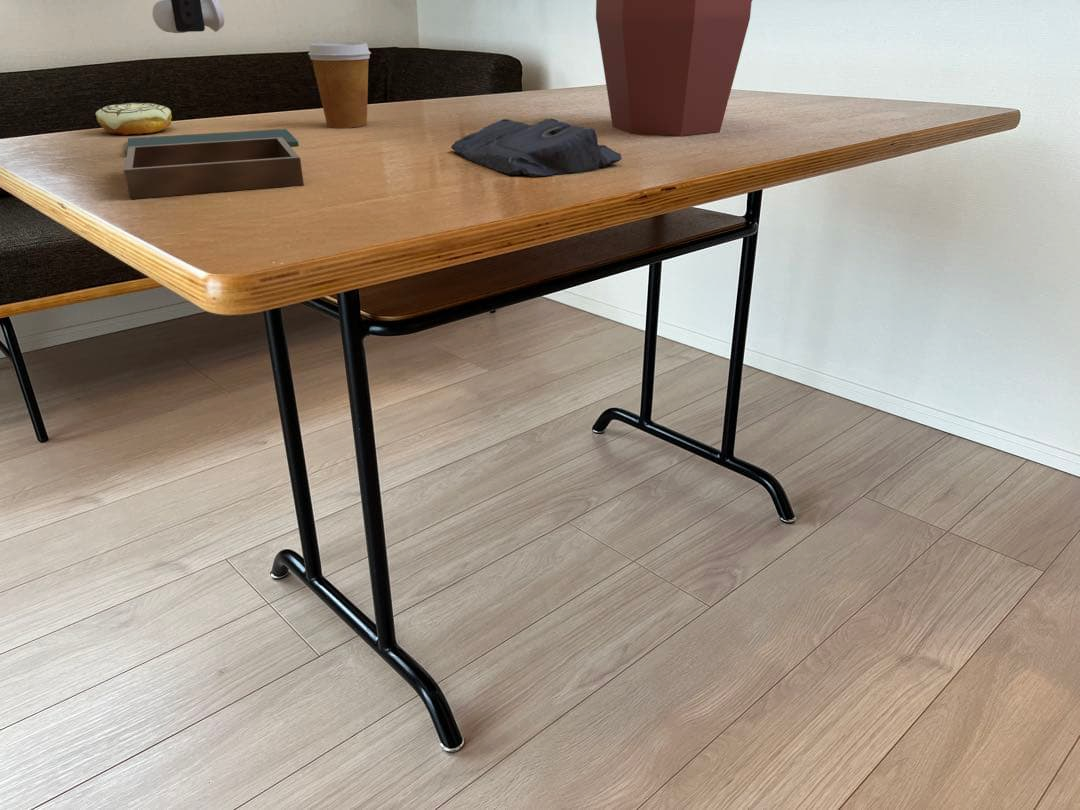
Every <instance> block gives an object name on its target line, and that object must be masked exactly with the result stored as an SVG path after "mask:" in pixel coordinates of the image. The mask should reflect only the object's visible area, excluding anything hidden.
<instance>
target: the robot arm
mask: <svg viewBox="0 0 1080 810" xmlns="http://www.w3.org/2000/svg"><path fill="white" fill-rule="evenodd" d="M171 3H172V9H173V15H174V20H175V26H176V30H177V31H179V32H185V33H189V32H190V33H191V32H193V33H194V32H195V33H196V32H204V31H205V30H206V26H204V20H203V14H202V8H201V1H200V0H171Z"/></svg>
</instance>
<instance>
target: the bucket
mask: <svg viewBox="0 0 1080 810" xmlns="http://www.w3.org/2000/svg"><path fill="white" fill-rule="evenodd" d="M752 2H753V0H595V22H596V27H597V33H598V40H599V48H600V53H601V60H602V66H603V71H604V72H603V73H604V80H605V86H606V93H607V98H608V105H609V106H608V107H609V113H610V119H611V125H612V128H615V129H618V130H620V131H623V132H625V133H629V134H631V135H632V134H633V135H651V136H669V137H670V136H673V137H685V136H686V137H687V136H695V135H704V134H705V135H706V134H712V133H720V132H721V129H722V125H723V121H724V118H725V115H726V114H725V113H726V110H727V107H728V102H729V99H730V97H731V96H730V95H731V92H732V88H733V84H734V81H735V77H736V72H737V70H738V69H737V68H738V65H739V62H740V58H741V54H742V51H743V46H744V42H745V39H746V35H747V31H748V27H749V24H750V20H751V14H752V12H751V11H752Z"/></svg>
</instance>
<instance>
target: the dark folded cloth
mask: <svg viewBox="0 0 1080 810" xmlns="http://www.w3.org/2000/svg"><path fill="white" fill-rule="evenodd" d="M597 135H598V134H597V131H596V129H595V128H587V127H584V126H580V125H571V124H570V123H567V122H565V121H559V120H557V119H555V118H552V117H551V118H546V119H542V120H541V121H537V122H536V123H534V124H528V123H525V122H522V121H521V122H520V121H514V120H511V119H508V118H504V119H501V120H497V121H496V122H493V123H491V124H489V125H487V126H484V127H483V128H482V129H480V130H478V131H476V132H472V133H470V134H468V135H465V136H464V137H462V138H460V139H459V140H458V139H457V140H456V141H454V143H453V144H452V145H451V146H450V148H451V149H452V150H453V151H454V152H455V153H457V155H458V156H460V157H462V158H464V159H467V160H468V161H470V162H473V163H475V164H478V165H481V166H483V167H486V168H489V169H492V170H495V171H496V172H500V173H504V174H506V175H509V176H521V175H525V176H528V177H530V178H537V177H546V176H554V175H559V174H560V175H562V174H563V175H564V174H571V173H574V174H575V173H584V172H591V171H595V170H597V169H600V168H601V169H603V168H606V167H608V166H609V165H613V164H615V163H618V162H620V161H621V160H622V158H623V157H622V155H621V153H620V152H617V151H614V150H613V149H612V148H610V147H608V146H607V145H606V144H599V142H598V141H599V140H598V136H597Z"/></svg>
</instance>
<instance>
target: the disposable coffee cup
mask: <svg viewBox="0 0 1080 810" xmlns="http://www.w3.org/2000/svg"><path fill="white" fill-rule="evenodd" d="M371 54H372V52H371V51H370V50H369V46H368V43H367V42H350V41H349V42H345V41H342V42H341V41H340V42H339V41H338V42H317V43H311V44H309V52H308V53H307V55H308V56H309V59H310V60H311V61H312V62H311V63H312V66H313V67H312V68H313V72H314V75H315V79H316V83H317V88H318V93H319V97H320V102H321V105H322V109H323V113H324V114H323V115H324V118H325V122H326V126H327V127H329V128H338V129H340V128H341V129H347V128H348V129H350V128H359V127H365V126H367V124H368V95H369V94H368V93H369V90H368V88H369V59H370V58H371V57H370V55H371Z"/></svg>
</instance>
